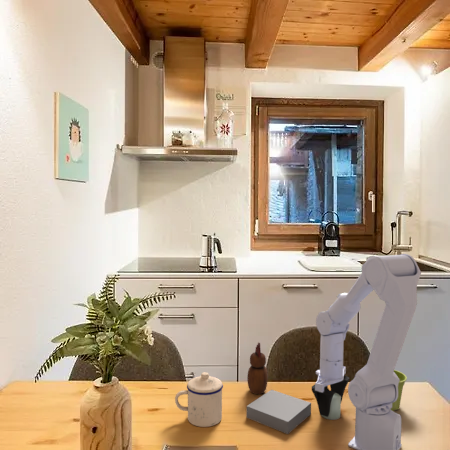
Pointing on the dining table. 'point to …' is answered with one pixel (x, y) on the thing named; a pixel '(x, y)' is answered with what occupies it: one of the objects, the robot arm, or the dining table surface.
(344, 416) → the dining table surface
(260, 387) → the wooden figurine
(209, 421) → the teacup with lid
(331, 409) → the sage cylinder
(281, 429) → the gray square block
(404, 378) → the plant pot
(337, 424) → the dining table surface
